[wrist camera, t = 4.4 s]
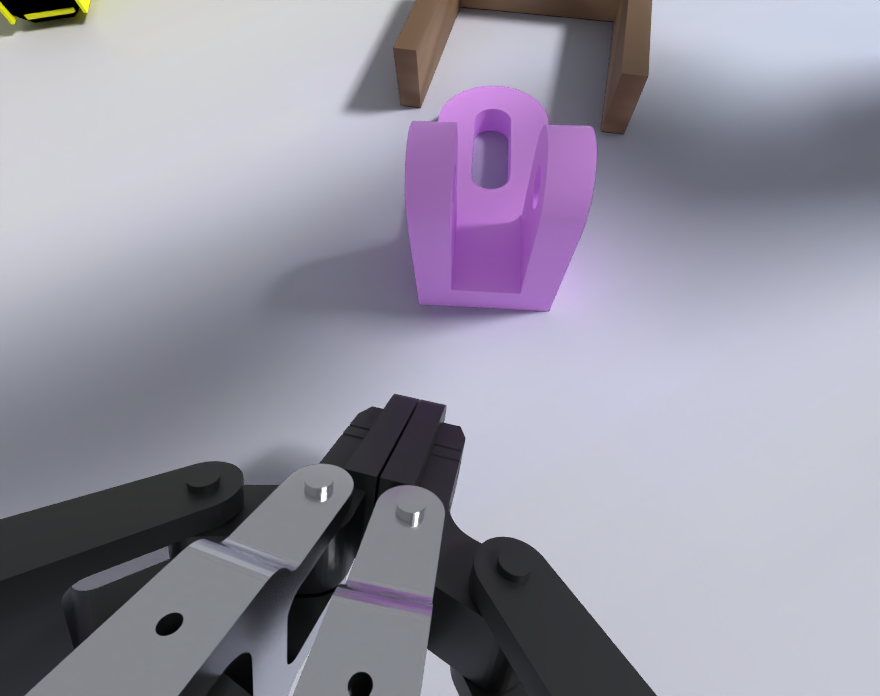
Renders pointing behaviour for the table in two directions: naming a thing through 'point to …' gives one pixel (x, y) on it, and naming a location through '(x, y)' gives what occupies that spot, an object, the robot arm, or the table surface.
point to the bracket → (496, 203)
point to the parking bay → (619, 3)
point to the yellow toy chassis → (41, 9)
